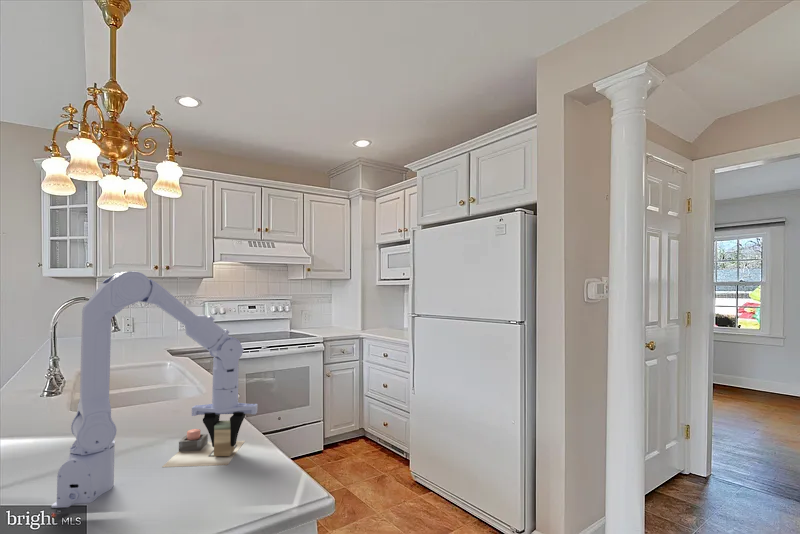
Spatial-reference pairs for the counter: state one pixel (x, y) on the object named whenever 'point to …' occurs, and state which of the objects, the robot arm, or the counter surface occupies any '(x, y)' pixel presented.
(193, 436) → the button
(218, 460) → the brown framed board
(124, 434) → the counter surface
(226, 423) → the green topped wooden block
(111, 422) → the robot arm
